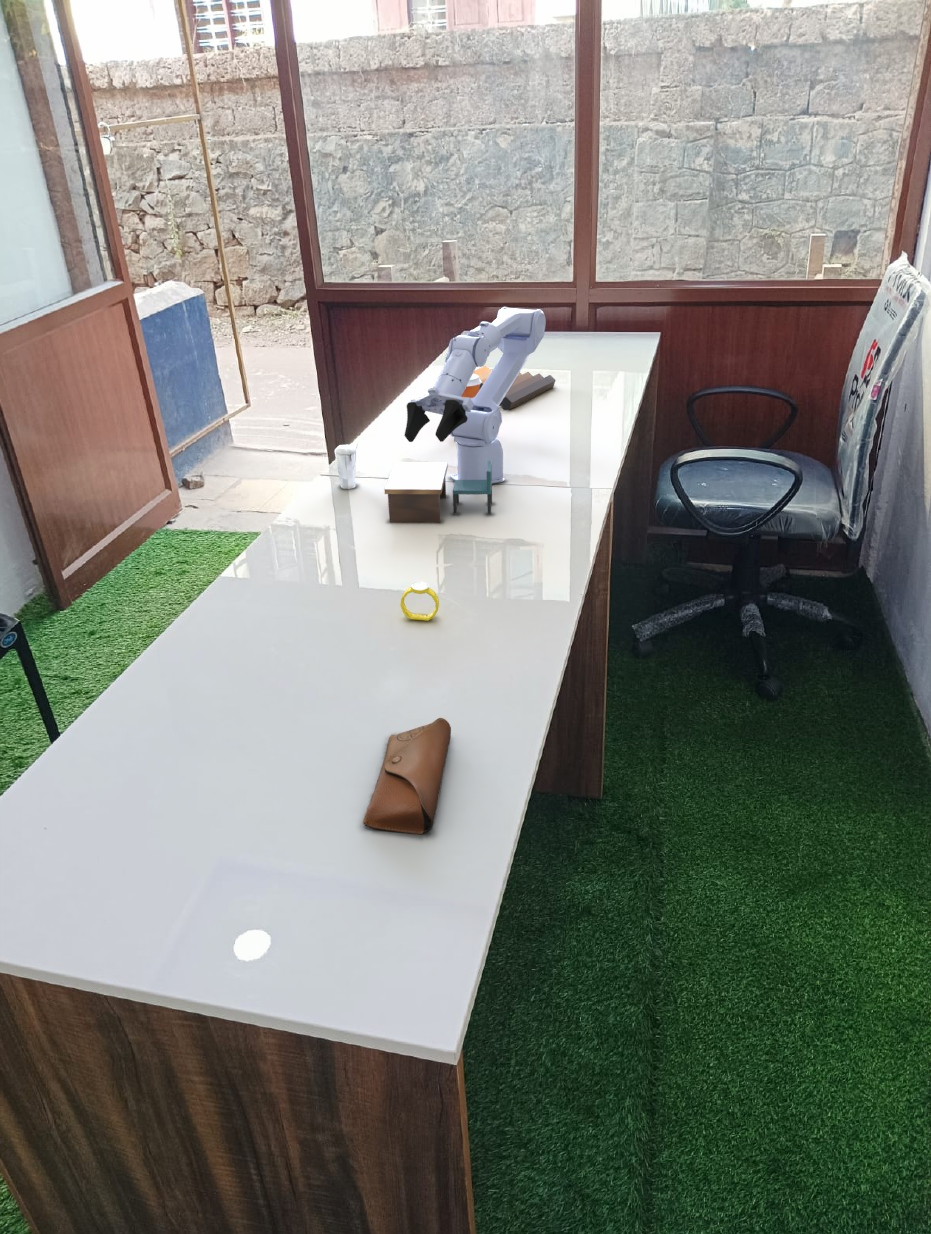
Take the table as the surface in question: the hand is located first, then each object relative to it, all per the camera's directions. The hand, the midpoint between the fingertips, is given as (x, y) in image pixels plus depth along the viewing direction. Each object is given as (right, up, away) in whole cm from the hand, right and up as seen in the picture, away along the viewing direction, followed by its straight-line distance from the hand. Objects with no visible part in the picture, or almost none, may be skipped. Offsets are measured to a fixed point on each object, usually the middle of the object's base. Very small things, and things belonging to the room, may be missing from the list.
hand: (423, 438), depth 175 cm
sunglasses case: (+1, -55, -64) cm, 84 cm away
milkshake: (-17, -6, +22) cm, 29 cm away
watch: (+1, -35, -29) cm, 45 cm away
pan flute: (+17, +29, +83) cm, 89 cm away
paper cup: (+8, +11, +52) cm, 54 cm away
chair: (+10, -12, +10) cm, 18 cm away
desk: (-1, -12, +11) cm, 16 cm away
